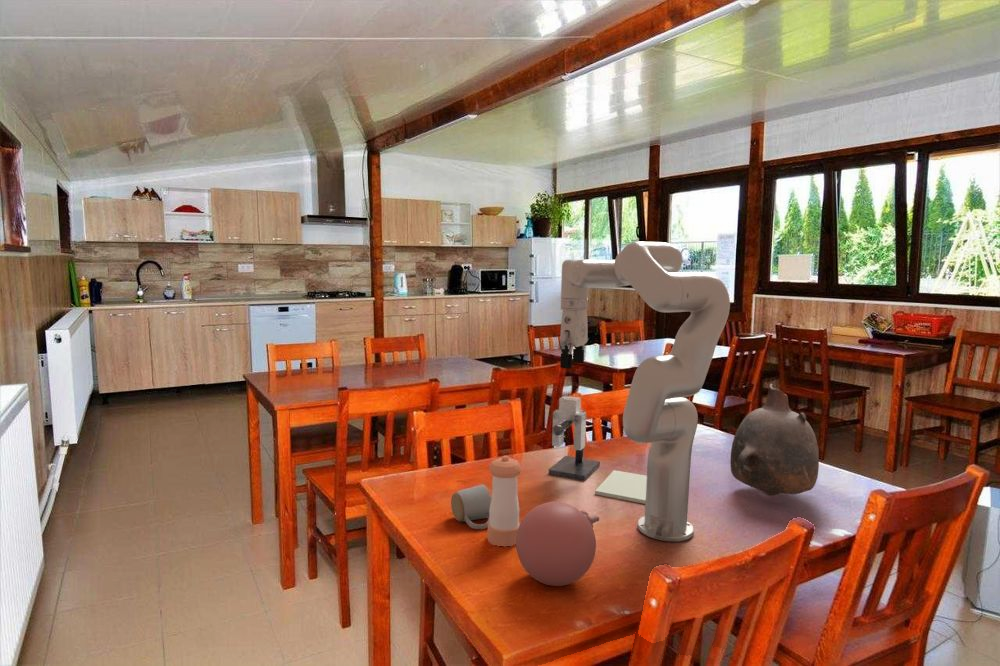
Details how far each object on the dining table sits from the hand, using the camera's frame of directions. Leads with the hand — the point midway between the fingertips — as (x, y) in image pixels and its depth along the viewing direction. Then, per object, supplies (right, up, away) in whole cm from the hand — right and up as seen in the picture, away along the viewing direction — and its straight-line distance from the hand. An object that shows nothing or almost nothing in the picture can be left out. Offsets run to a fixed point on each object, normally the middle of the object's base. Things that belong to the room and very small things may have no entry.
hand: (572, 365), depth 172 cm
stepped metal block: (-1, -23, +3) cm, 23 cm away
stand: (0, -32, +5) cm, 32 cm away
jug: (+52, -35, -8) cm, 63 cm away
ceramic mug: (-26, -36, -26) cm, 52 cm away
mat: (+17, -34, -5) cm, 38 cm away
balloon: (-8, -39, -51) cm, 65 cm away
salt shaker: (-19, -37, -36) cm, 55 cm away
